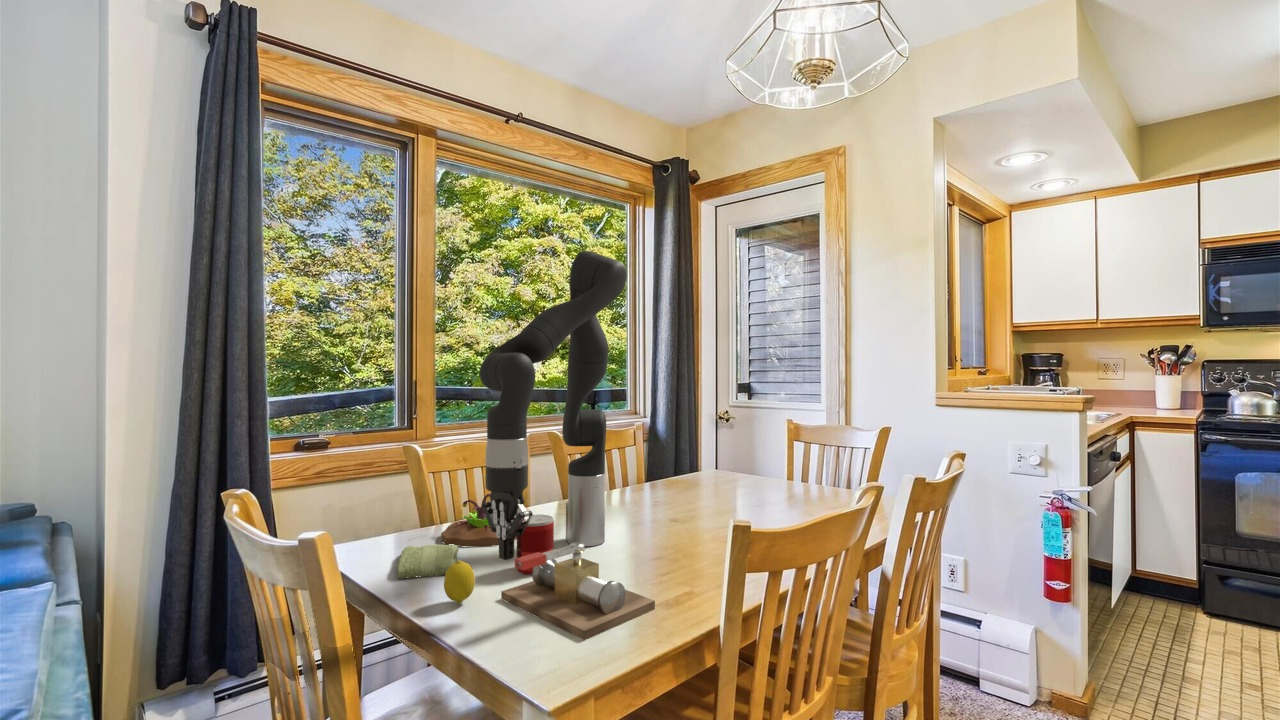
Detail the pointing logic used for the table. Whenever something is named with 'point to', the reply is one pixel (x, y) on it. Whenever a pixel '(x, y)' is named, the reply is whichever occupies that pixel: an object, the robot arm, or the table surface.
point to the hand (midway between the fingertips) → (506, 558)
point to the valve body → (580, 583)
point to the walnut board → (574, 609)
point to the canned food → (536, 538)
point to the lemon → (459, 581)
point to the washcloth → (426, 560)
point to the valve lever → (547, 556)
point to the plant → (471, 529)
